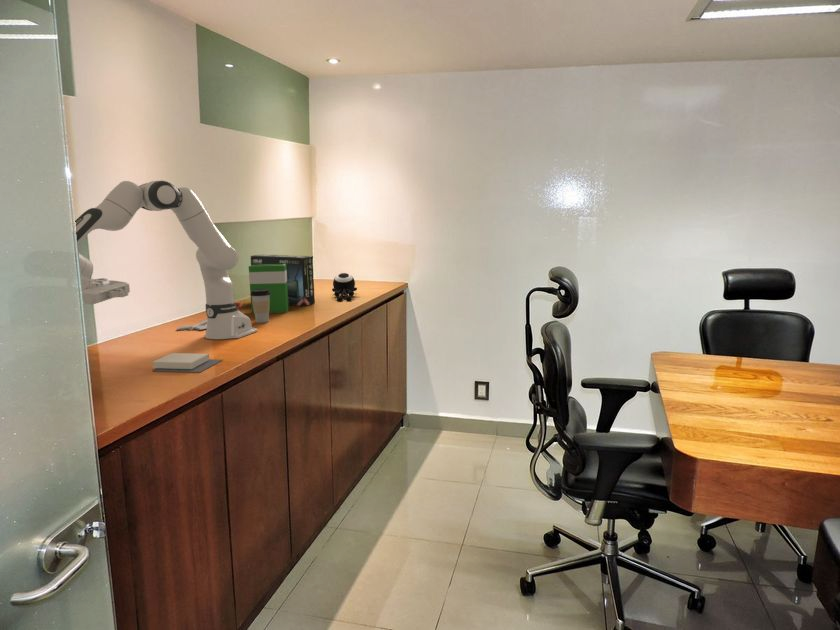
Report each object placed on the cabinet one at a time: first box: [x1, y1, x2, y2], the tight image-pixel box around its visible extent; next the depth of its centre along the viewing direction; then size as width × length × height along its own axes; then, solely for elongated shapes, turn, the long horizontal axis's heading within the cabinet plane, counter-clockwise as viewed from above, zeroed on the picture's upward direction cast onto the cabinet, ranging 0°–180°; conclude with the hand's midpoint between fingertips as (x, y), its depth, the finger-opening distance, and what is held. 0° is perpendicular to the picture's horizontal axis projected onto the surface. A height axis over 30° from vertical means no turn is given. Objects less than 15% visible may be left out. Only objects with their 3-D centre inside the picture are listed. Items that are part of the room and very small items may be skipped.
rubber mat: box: [152, 358, 223, 374], centre depth 208 cm, size 17×16×1 cm
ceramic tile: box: [152, 352, 210, 369], centre depth 208 cm, size 2×12×14 cm
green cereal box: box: [248, 264, 290, 314], centre depth 310 cm, size 18×7×24 cm, turn 94°
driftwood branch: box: [176, 319, 207, 331], centre depth 281 cm, size 30×14×2 cm, turn 175°
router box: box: [250, 253, 316, 307], centre depth 334 cm, size 36×11×27 cm, turn 66°
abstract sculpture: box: [331, 272, 358, 303], centre depth 354 cm, size 15×19×32 cm
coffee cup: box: [249, 289, 271, 324], centre depth 283 cm, size 9×9×15 cm
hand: (125, 294), depth 208 cm, fingers closed
